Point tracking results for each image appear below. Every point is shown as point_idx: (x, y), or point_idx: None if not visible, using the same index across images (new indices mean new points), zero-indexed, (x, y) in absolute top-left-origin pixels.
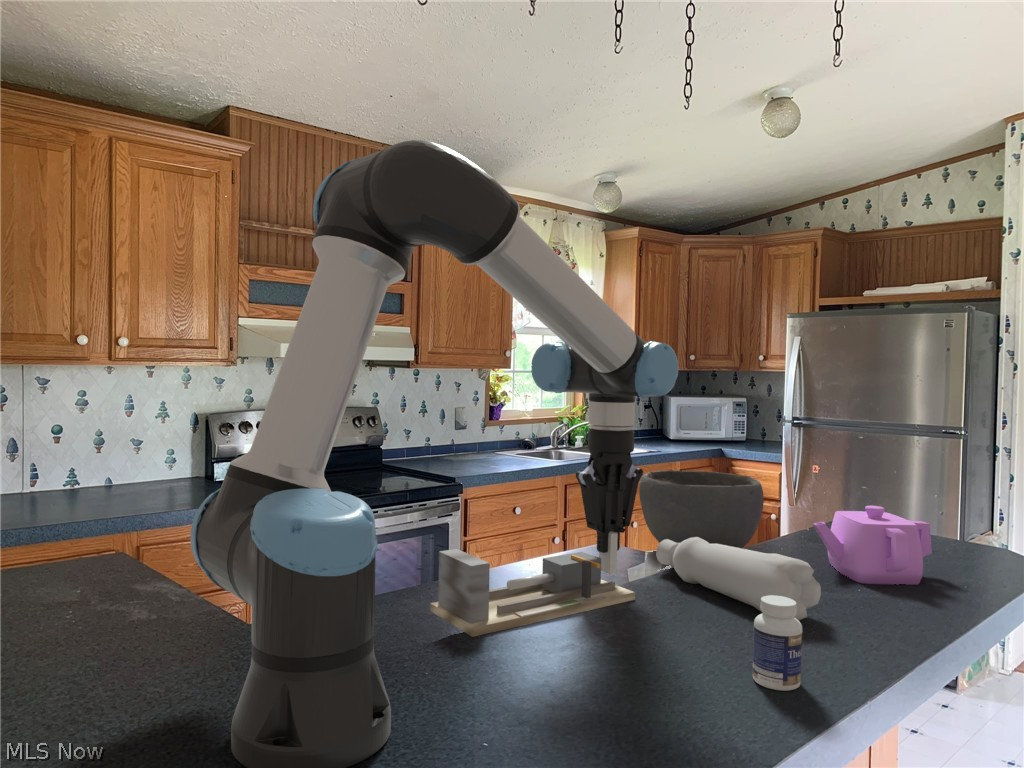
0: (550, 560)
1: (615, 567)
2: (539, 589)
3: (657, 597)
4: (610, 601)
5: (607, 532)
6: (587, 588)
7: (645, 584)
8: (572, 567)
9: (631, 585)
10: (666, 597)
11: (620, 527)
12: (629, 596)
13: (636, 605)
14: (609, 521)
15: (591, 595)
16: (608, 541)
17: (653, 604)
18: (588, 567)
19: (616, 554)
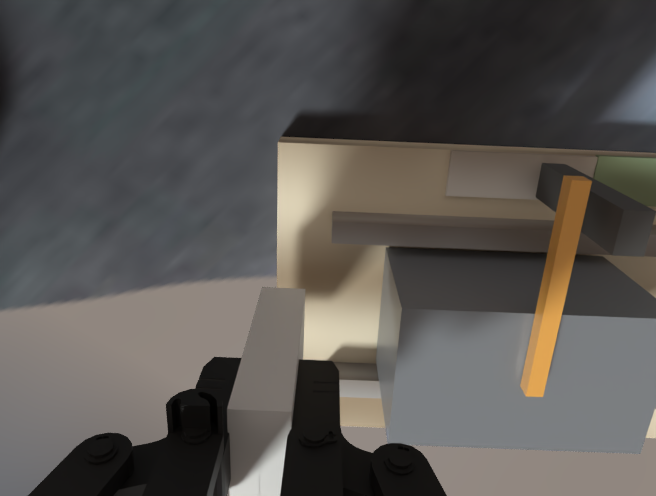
0: (647, 409)
1: (266, 299)
2: None
3: (168, 104)
4: (423, 145)
5: (317, 426)
6: (581, 173)
7: (95, 256)
8: (596, 307)
9: (157, 277)
10: (132, 81)
11: (191, 433)
12: (311, 141)
13: (327, 80)
14: (294, 486)
15: (469, 215)
16: (294, 394)
17: (253, 45)
18: (631, 202)
19: (254, 331)
